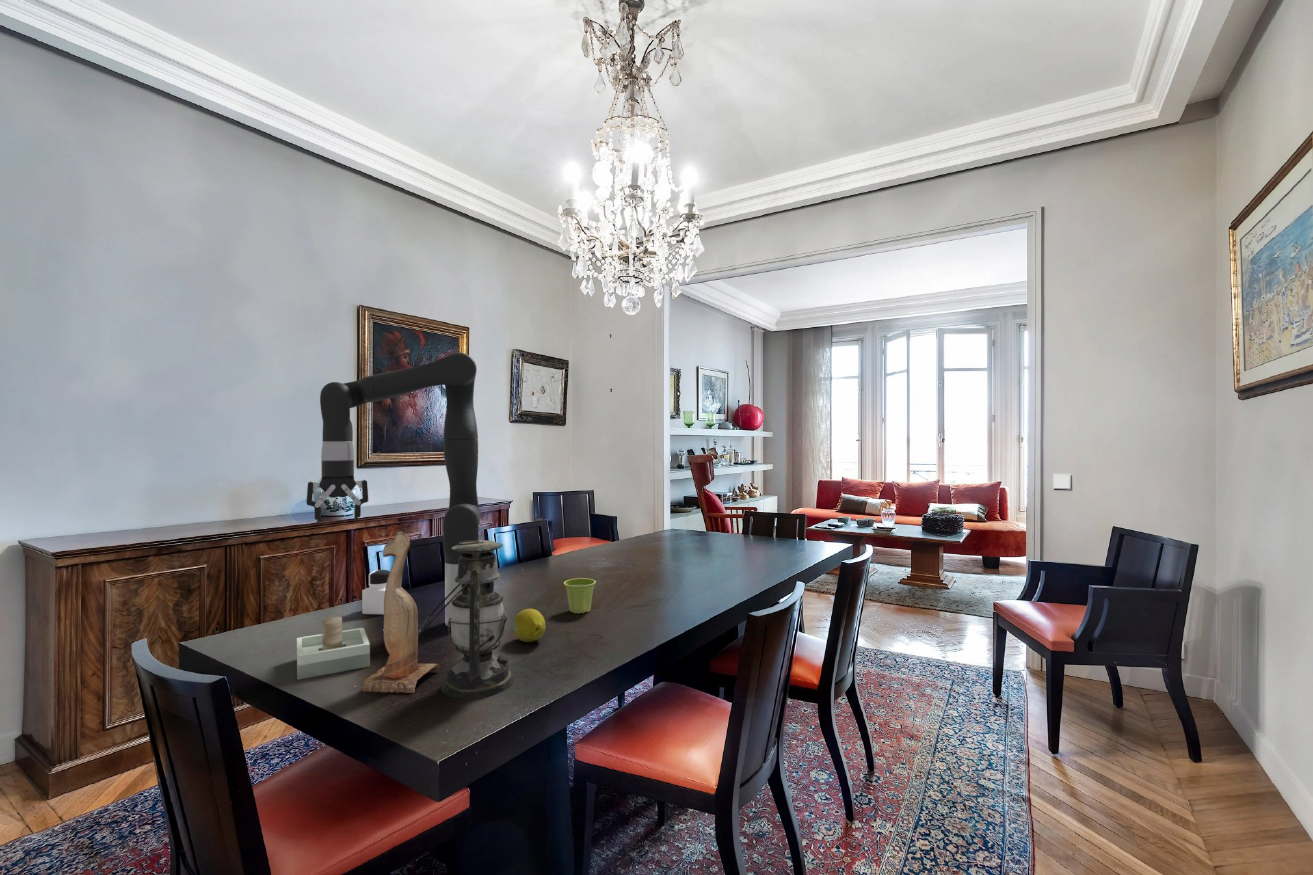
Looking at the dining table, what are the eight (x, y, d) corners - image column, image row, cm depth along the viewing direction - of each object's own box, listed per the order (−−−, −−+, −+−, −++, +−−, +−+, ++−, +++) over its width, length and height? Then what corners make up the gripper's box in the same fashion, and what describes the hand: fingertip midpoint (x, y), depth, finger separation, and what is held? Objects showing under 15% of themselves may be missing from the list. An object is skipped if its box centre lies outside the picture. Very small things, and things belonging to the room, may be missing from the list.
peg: (345, 659, 137) (345, 616, 138) (337, 665, 133) (337, 621, 134) (327, 659, 137) (327, 616, 137) (318, 666, 133) (318, 622, 133)
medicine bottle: (397, 607, 180) (397, 568, 180) (384, 614, 173) (384, 573, 173) (375, 607, 181) (375, 568, 181) (361, 614, 174) (361, 573, 174)
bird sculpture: (388, 672, 130) (383, 528, 130) (440, 671, 130) (435, 526, 130) (361, 694, 119) (355, 536, 119) (418, 693, 119) (412, 534, 119)
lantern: (512, 699, 115) (511, 546, 116) (408, 709, 111) (408, 550, 112) (514, 664, 134) (514, 532, 134) (425, 671, 130) (425, 535, 130)
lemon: (510, 636, 153) (510, 605, 153) (541, 633, 155) (540, 602, 156) (516, 650, 143) (516, 617, 143) (549, 646, 145) (548, 613, 145)
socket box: (363, 647, 145) (363, 627, 145) (369, 666, 133) (369, 644, 133) (296, 659, 138) (296, 637, 138) (297, 679, 126) (297, 656, 126)
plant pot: (593, 615, 171) (593, 585, 171) (561, 615, 171) (561, 585, 171) (597, 606, 180) (597, 578, 180) (566, 606, 180) (566, 578, 180)
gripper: (306, 459, 148) (306, 524, 148) (369, 458, 156) (369, 520, 155) (306, 459, 155) (306, 520, 154) (366, 458, 162) (366, 517, 162)
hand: (338, 520), depth 155 cm, fingers open, 8 cm apart
